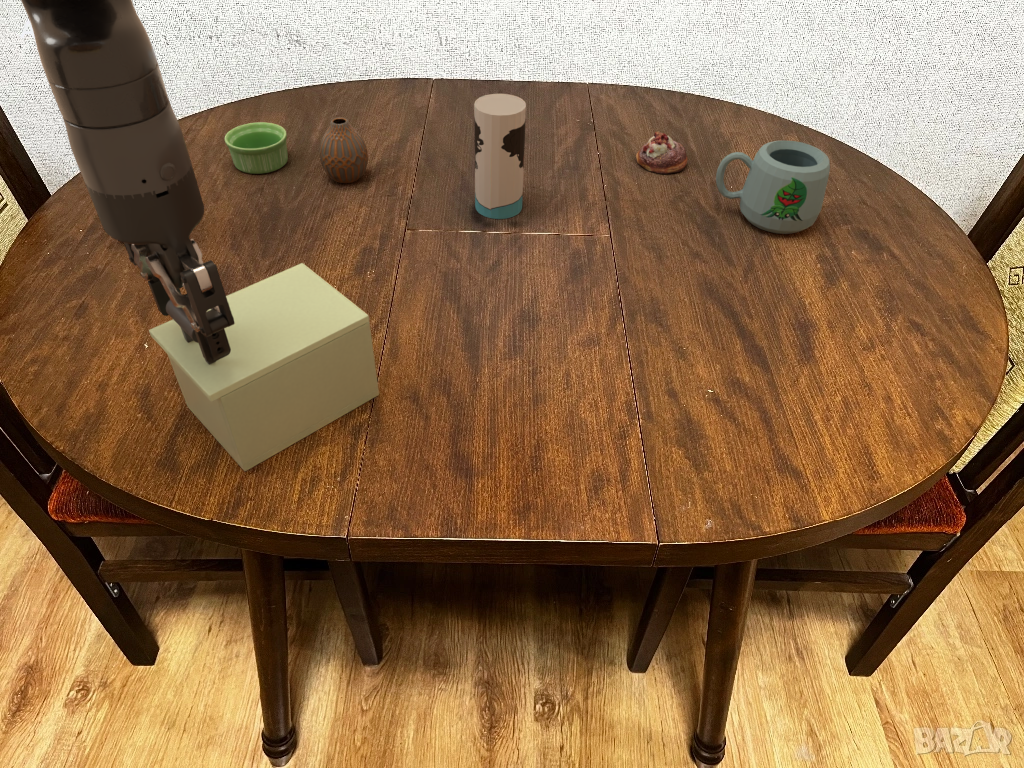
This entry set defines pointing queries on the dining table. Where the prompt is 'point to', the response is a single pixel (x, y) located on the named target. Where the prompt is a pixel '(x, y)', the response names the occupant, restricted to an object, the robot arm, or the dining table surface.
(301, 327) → the lid
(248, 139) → the ramekin
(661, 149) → the pastry
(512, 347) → the dining table surface
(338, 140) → the vase
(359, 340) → the case
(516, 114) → the beige tall cylinder
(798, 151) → the mug
